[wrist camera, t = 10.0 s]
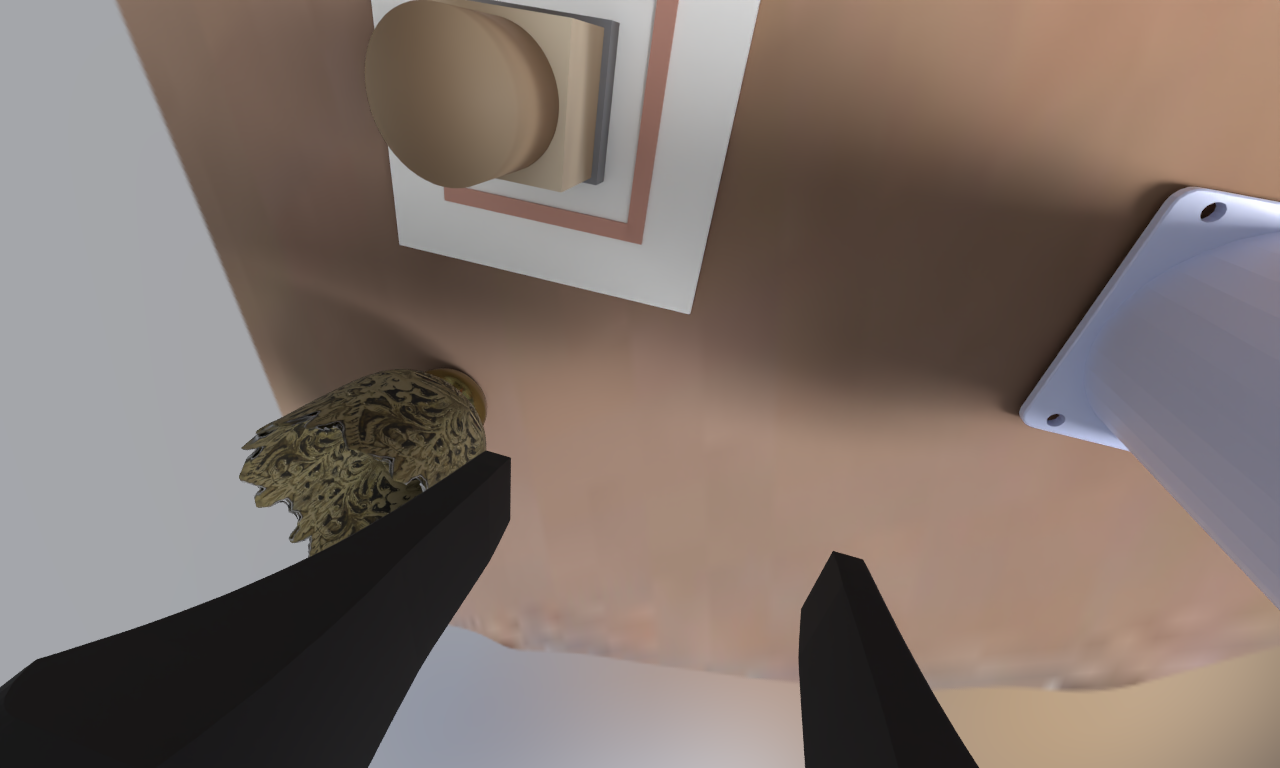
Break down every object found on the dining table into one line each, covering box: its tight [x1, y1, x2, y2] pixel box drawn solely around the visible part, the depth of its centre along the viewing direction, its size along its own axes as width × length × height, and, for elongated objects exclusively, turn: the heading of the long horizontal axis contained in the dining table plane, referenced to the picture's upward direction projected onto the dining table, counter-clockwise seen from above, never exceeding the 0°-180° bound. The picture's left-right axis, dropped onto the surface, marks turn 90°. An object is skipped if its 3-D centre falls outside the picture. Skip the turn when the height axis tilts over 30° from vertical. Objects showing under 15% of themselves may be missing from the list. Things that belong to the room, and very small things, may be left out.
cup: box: [239, 368, 487, 557], centre depth 21 cm, size 8×7×8 cm
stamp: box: [364, 0, 620, 193], centre depth 14 cm, size 4×4×6 cm
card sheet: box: [371, 0, 760, 315], centre depth 16 cm, size 12×12×1 cm
